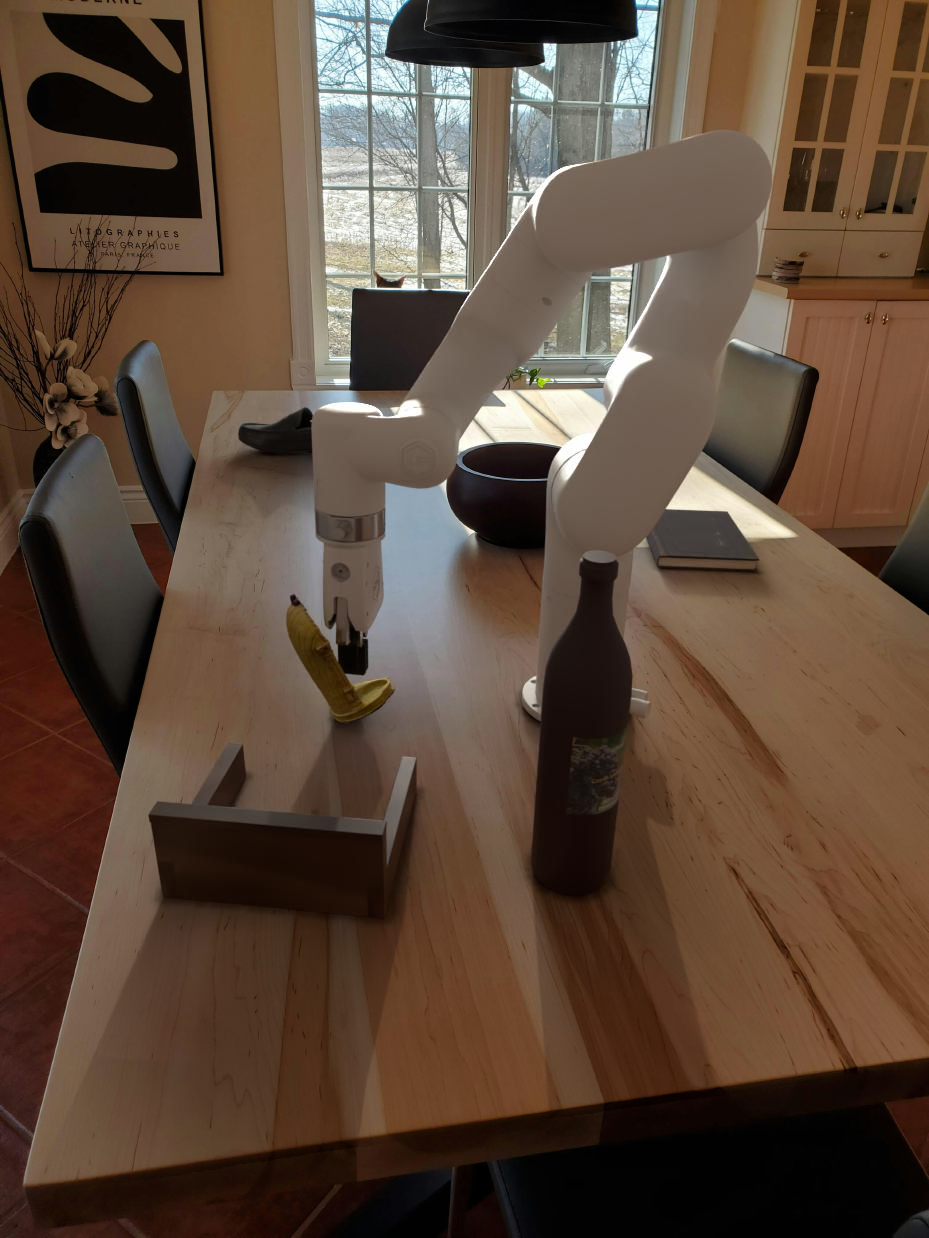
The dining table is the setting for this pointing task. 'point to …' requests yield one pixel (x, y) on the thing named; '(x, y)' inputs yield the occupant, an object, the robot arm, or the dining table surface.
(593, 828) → the wine bottle
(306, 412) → the loafer
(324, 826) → the dark wooden open frame
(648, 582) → the dining table surface
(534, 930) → the dining table surface
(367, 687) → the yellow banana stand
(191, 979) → the dining table surface
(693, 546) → the hardcover book
